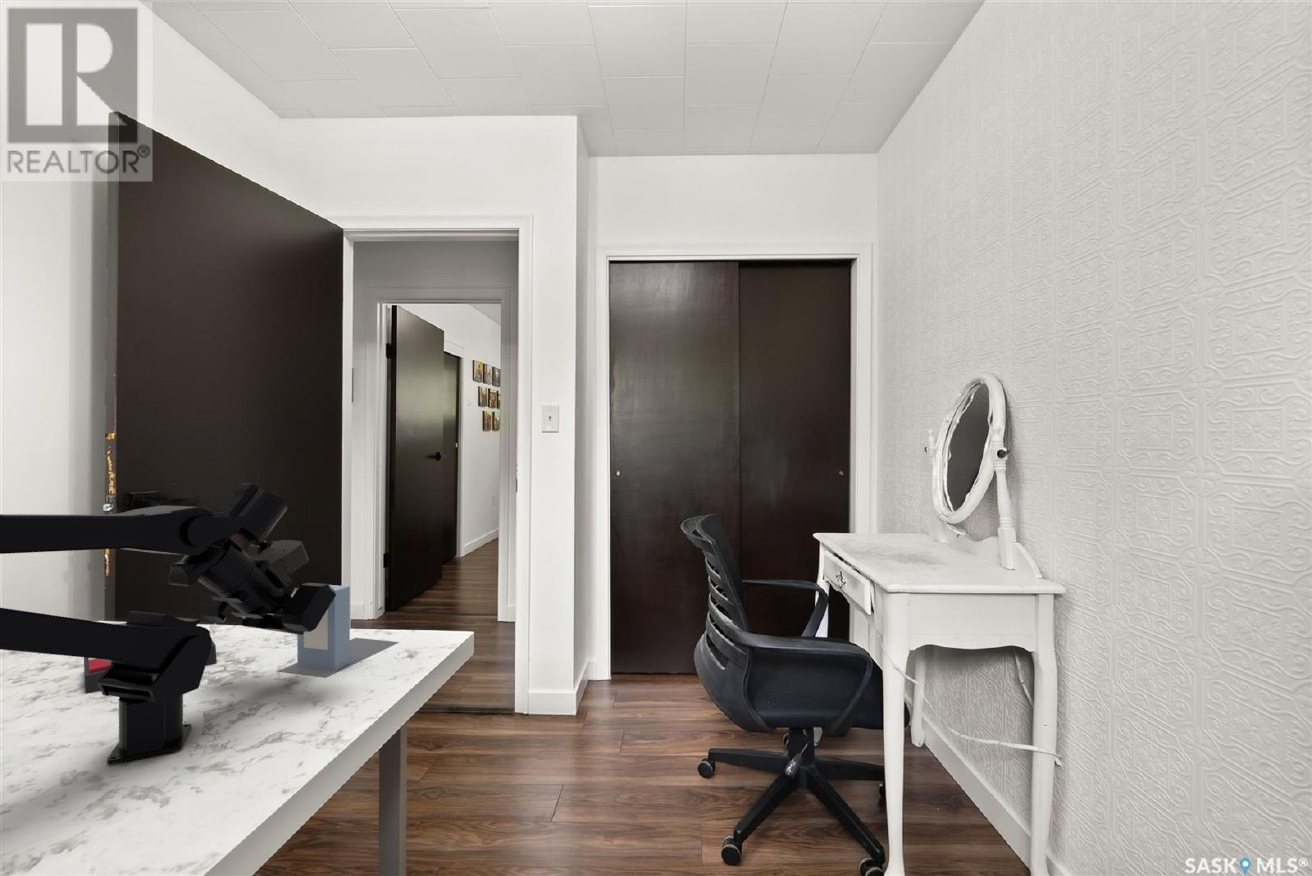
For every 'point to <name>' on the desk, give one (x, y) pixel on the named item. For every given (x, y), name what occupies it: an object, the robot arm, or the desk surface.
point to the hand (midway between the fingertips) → (302, 631)
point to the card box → (328, 636)
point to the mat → (358, 652)
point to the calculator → (98, 666)
